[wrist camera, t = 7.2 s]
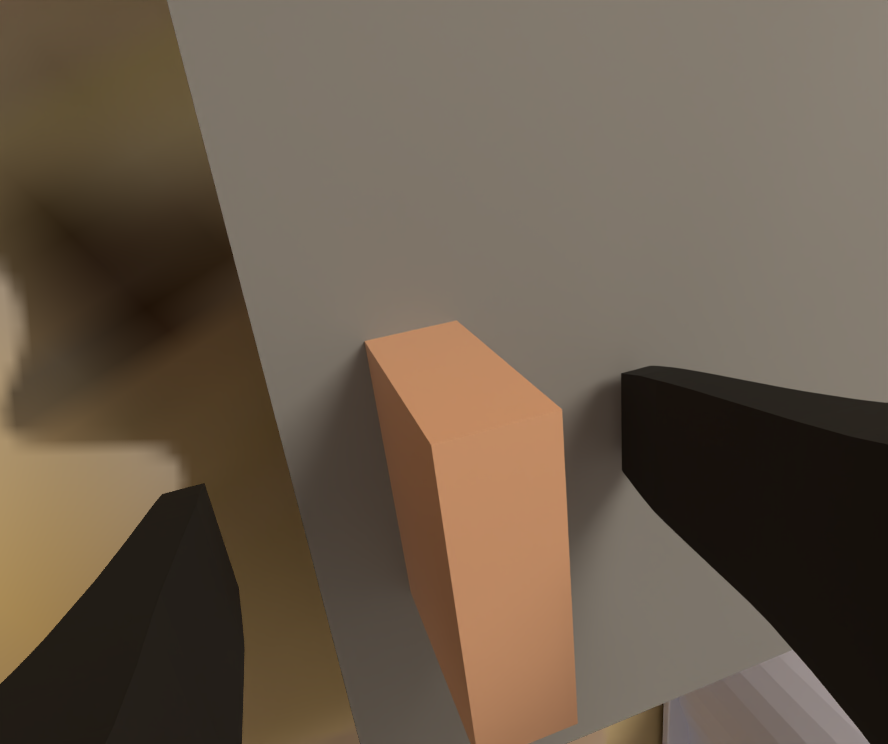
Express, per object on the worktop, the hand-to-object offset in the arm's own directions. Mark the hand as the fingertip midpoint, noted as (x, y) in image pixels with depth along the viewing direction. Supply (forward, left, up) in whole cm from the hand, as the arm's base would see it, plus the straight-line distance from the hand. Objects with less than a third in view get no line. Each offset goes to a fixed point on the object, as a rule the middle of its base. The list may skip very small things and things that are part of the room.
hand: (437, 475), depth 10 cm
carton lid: (0, -9, -1) cm, 9 cm away
